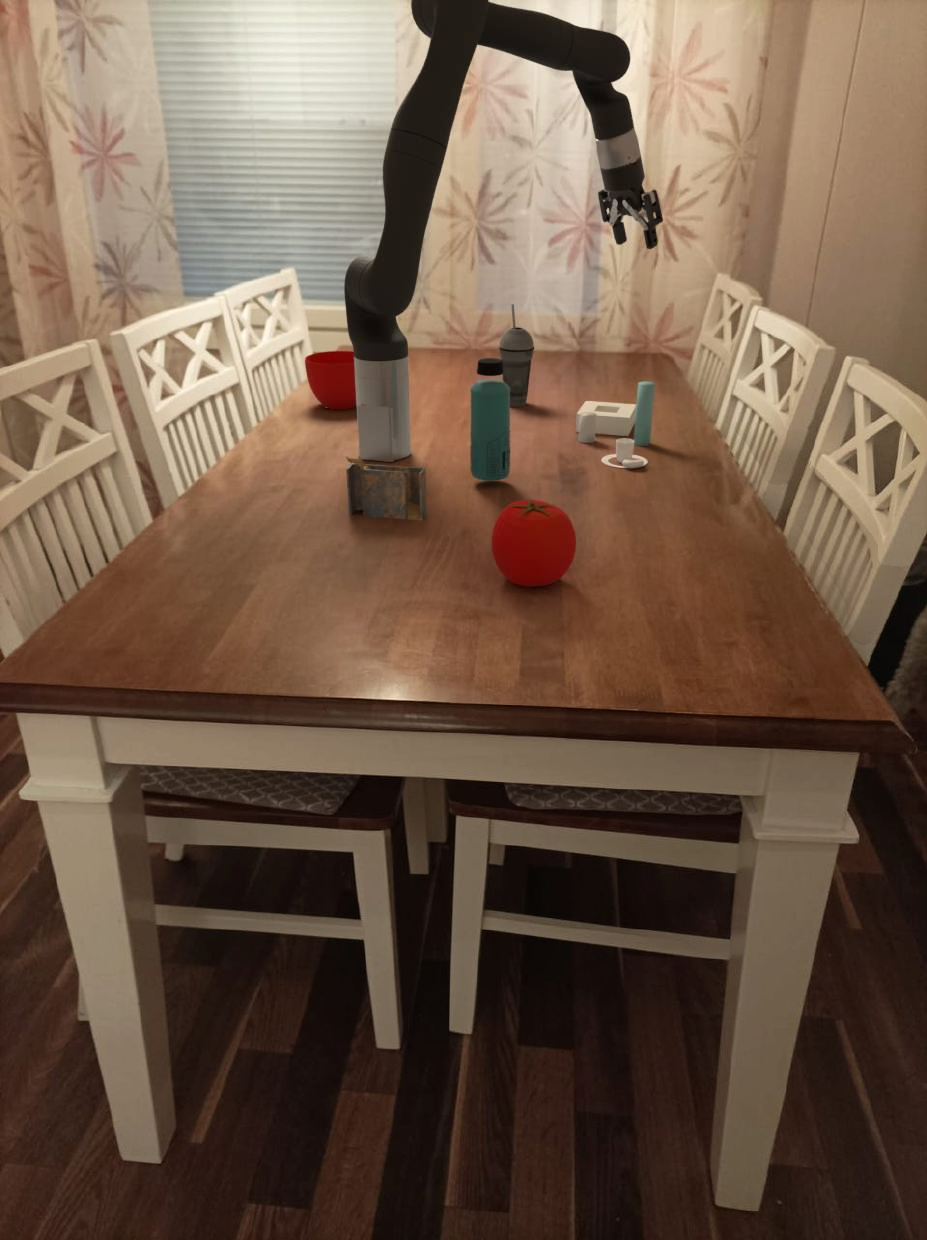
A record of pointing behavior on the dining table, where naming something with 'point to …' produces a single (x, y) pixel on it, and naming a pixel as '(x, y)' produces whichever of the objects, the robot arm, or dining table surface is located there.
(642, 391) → the long pin
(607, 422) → the hole block
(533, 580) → the tomato
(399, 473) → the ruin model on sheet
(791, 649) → the dining table surface
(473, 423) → the beverage bottle
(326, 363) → the ceramic cup
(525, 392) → the beverage cup
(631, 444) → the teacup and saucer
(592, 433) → the short pin
